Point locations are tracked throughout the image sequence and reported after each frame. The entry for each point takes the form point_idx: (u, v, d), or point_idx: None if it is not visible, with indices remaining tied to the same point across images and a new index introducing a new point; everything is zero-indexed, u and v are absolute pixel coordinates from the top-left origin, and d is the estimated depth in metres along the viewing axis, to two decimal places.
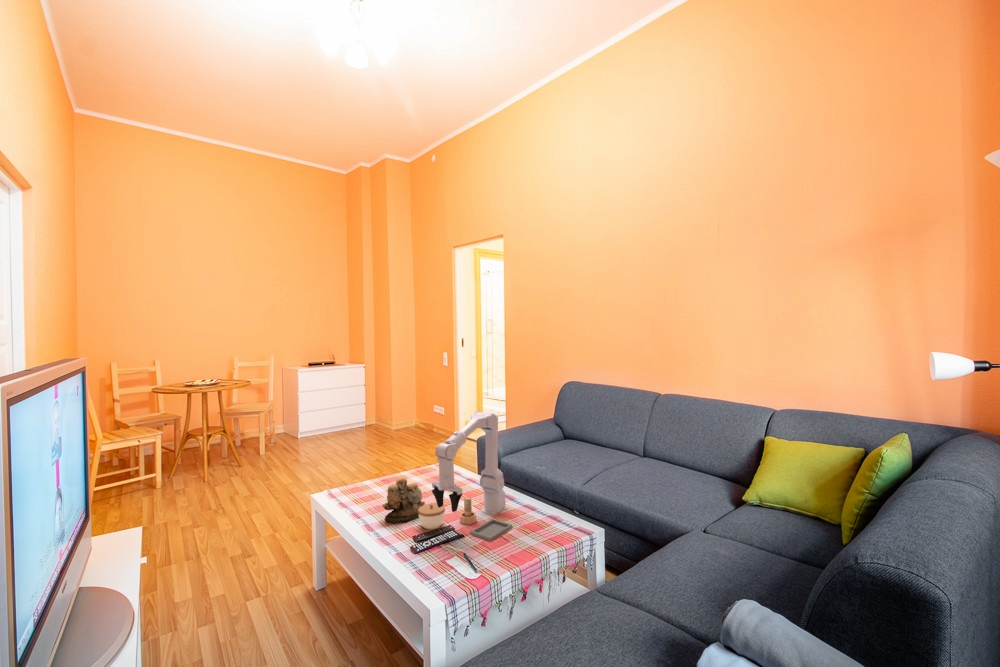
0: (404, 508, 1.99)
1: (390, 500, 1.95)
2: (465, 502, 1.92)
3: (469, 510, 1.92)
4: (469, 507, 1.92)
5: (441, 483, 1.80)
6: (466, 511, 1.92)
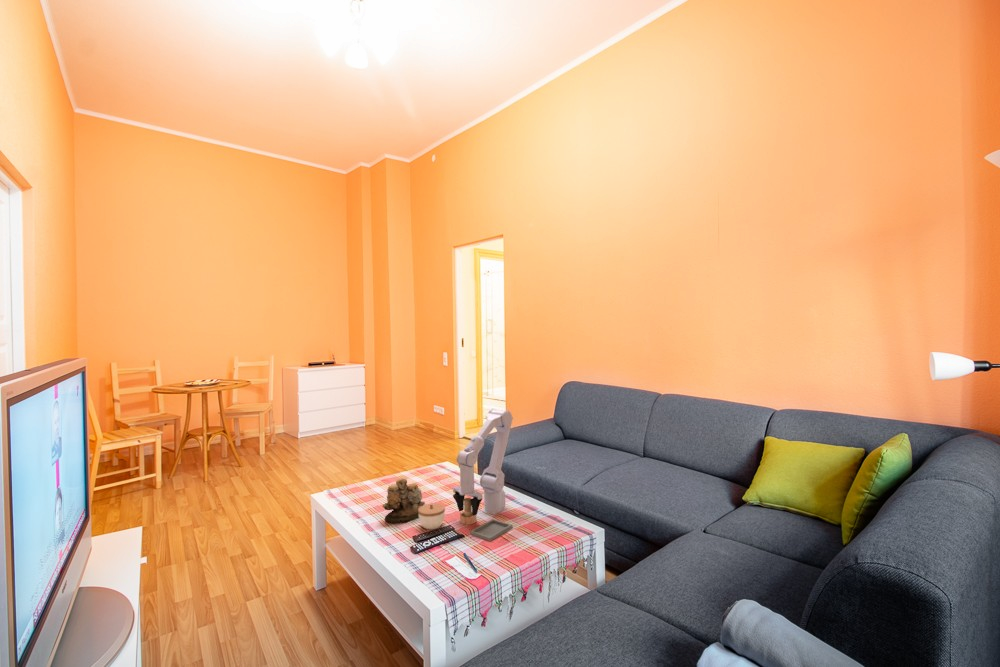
0: (404, 508, 1.99)
1: (390, 500, 1.95)
2: (465, 502, 1.92)
3: (469, 510, 1.92)
4: (469, 507, 1.92)
5: (462, 488, 1.91)
6: (466, 511, 1.92)
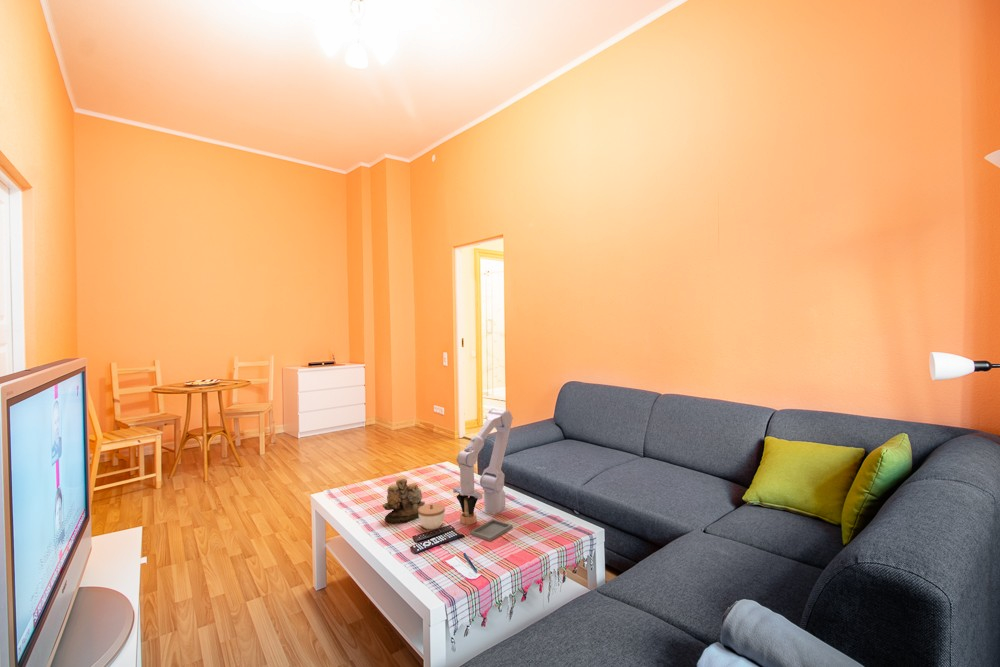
0: (404, 508, 1.99)
1: (390, 500, 1.95)
2: (465, 502, 1.92)
3: None
4: None
5: (462, 488, 1.91)
6: (466, 511, 1.92)
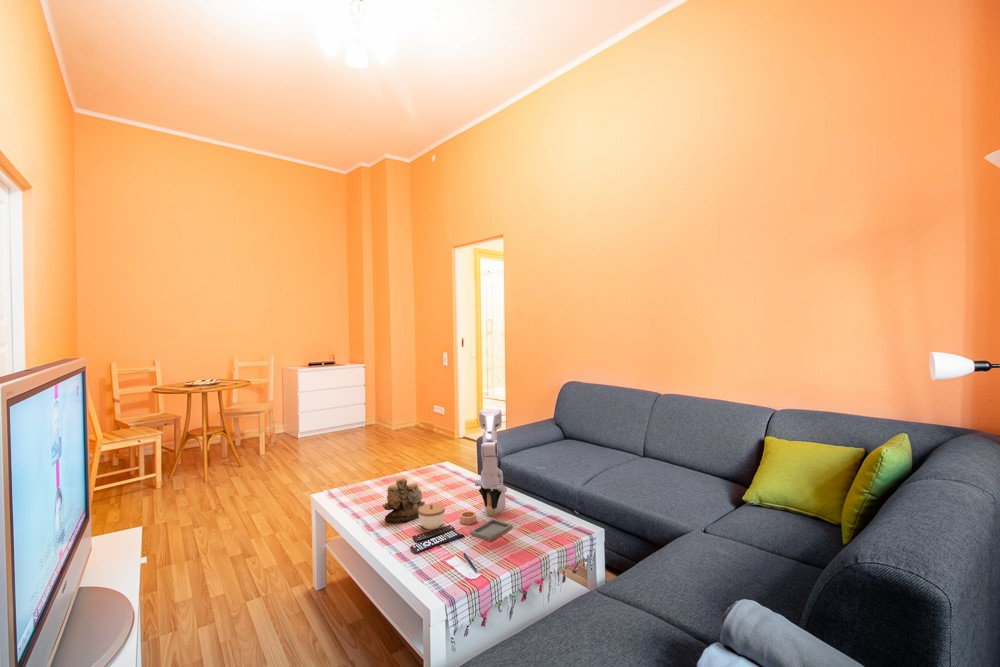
0: (404, 508, 1.99)
1: (390, 500, 1.95)
2: (488, 496, 1.82)
3: None
4: None
5: (485, 481, 1.81)
6: (489, 505, 1.82)
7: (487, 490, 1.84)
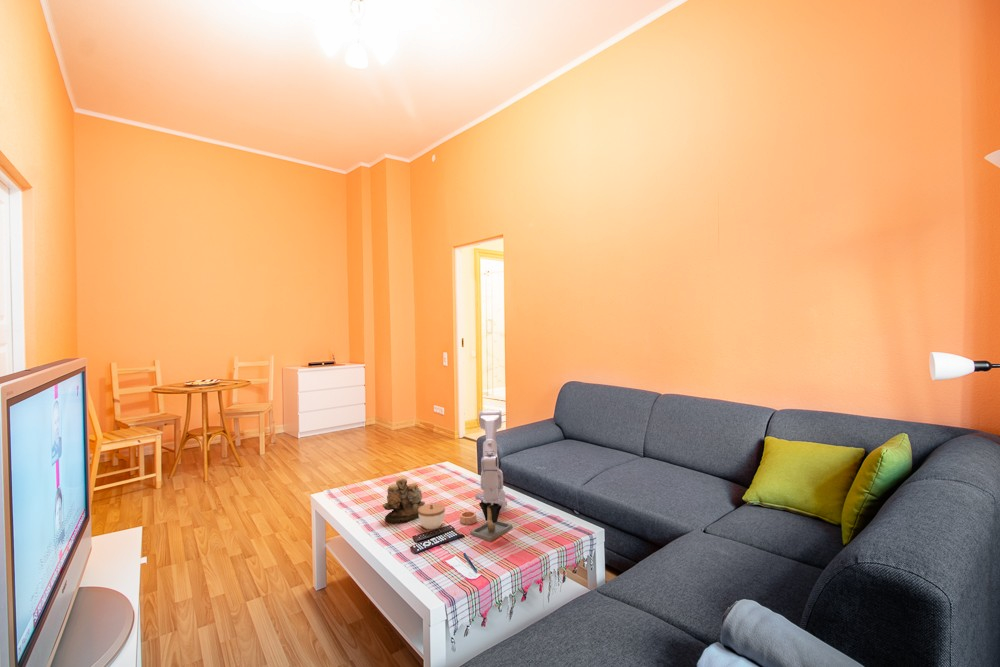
0: (404, 508, 1.99)
1: (390, 500, 1.95)
2: (488, 510, 1.82)
3: None
4: None
5: (485, 495, 1.81)
6: (489, 519, 1.82)
7: (487, 504, 1.84)
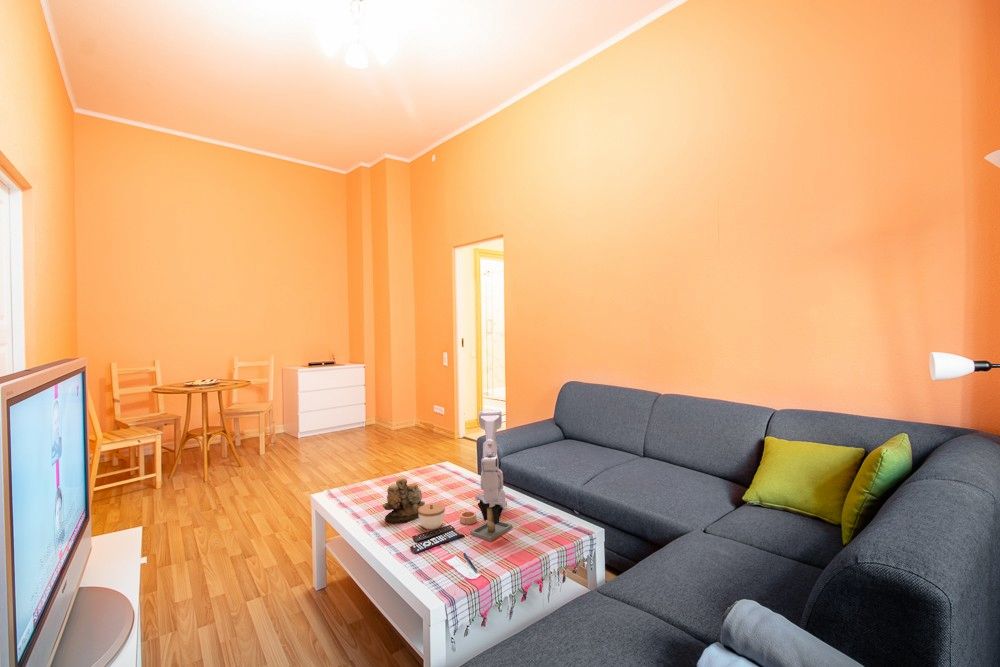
0: (404, 508, 1.99)
1: (390, 500, 1.95)
2: (488, 511, 1.82)
3: (493, 520, 1.82)
4: (493, 517, 1.82)
5: (486, 496, 1.81)
6: (489, 521, 1.82)
7: (486, 504, 1.85)
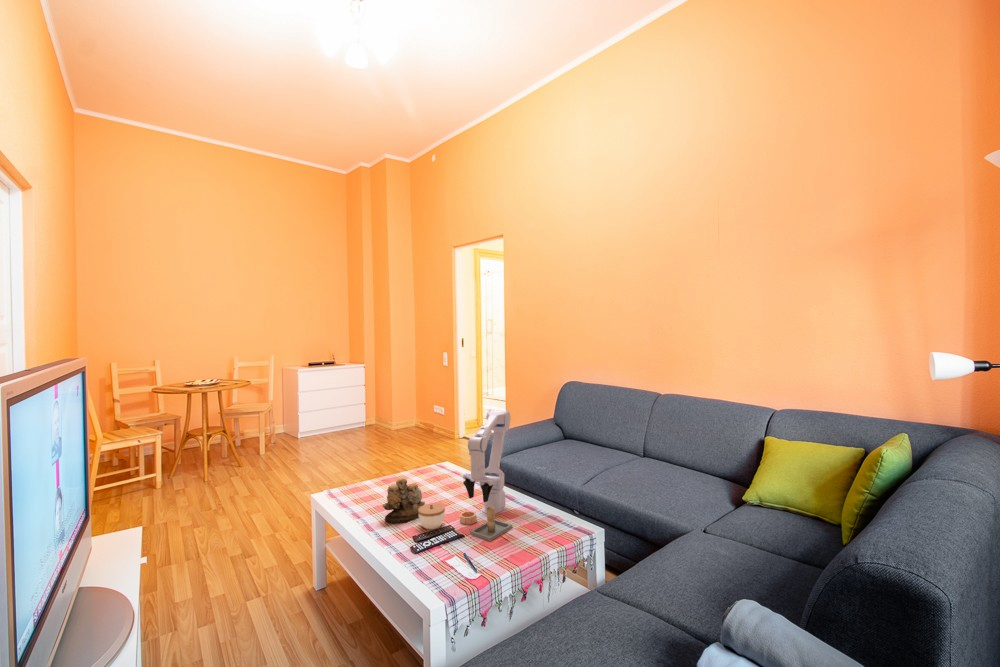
0: (404, 508, 1.99)
1: (390, 500, 1.95)
2: (488, 511, 1.82)
3: (492, 520, 1.82)
4: (492, 517, 1.82)
5: (473, 475, 1.88)
6: (489, 521, 1.82)
7: (471, 482, 1.93)
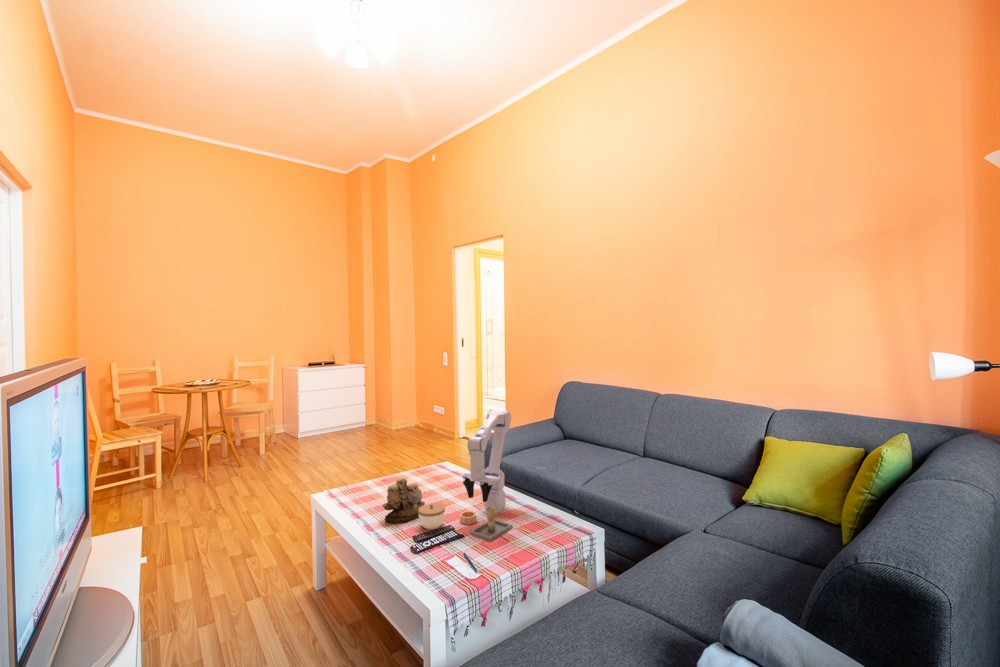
0: (404, 508, 1.99)
1: (390, 500, 1.95)
2: (488, 511, 1.82)
3: (493, 520, 1.82)
4: (493, 517, 1.82)
5: (472, 474, 1.88)
6: (489, 521, 1.82)
7: (471, 482, 1.93)
